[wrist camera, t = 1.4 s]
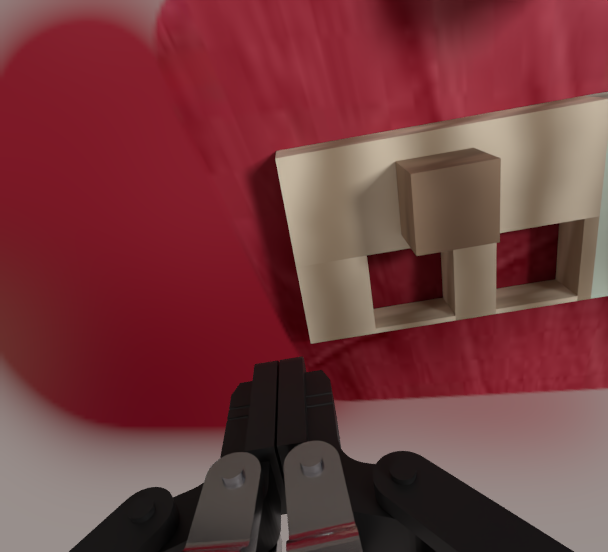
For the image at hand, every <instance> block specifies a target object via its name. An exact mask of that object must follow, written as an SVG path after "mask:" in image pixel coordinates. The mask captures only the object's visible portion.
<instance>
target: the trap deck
mask: <svg viewBox="0 0 608 552" xmlns="http://www.w3.org/2000/svg"><path fill="white" fill-rule="evenodd" d="M468 148H476V149H478V150H481V151H484V152H486V153H489V154H491V155H494V156H496V157H499V158H501V180H500V233H503V232H509V231H515V230H521V229H527V228H533V227H539V226H545V225H551V224H557V223H559V236H558V250H557V265H556V279H554V280H547V281H541V282H535V283H529V284H523V285H517V286H511V287H505V288H498V289H496V243H492V244H487V245H481V246H475V247H469V248H463V249H457V250H451V251H445V252H441V267H442V288H443V298H437V299H431V300H425V301H419V302H413V303H407V304H401V305H394V306H388V307H382V308H376V309H373V302H372V294H371V286H370V277H369V269H368V261H367V255H373V254H379V253H385V252H391V251H397V250H402V249H408V248H410V246H409V245H408V243H407V242H406V241H405V239H404V238H403V236H402V235H401V225H400V213H399V201H398V189H397V177H396V165H395V161H400V160H406V159H412V158H417V157H423V156H429V155H434V154H440V153H446V152H451V151H457V150H463V149H468ZM275 160H276V165H277V171H278V176H279V181H280V186H281V191H282V197H283V202H284V207H285V212H286V217H287V223H288V228H289V233H290V238H291V243H292V248H293V254H294V259H295V264H296V269H297V274H298V280H299V285H300V290H301V295H302V300H303V306H304V311H305V316H306V321H307V326H308V331H309V337H310V342H311V344H312V343H319V342H325V341H331V340H337V339H343V338H350V337H356V336H362V335H368V334H374V333H381V332H387V331H393V330H399V329H405V328H412V327H418V326H424V325H430V324H437V323H443V322H449V321H455V320H461V319H468V318H474V317H480V316H486V315H492V314H499V313H505V312H511V311H517V310H523V309H530V308H536V307H542V306H548V305H554V304H561V303H567V302H573V301H579V300H585V299H592V298H598V297H604V296H608V92H603V93H597V94H592V95H586V96H580V97H575V98H569V99H564V100H558V101H553V102H547V103H541V104H536V105H530V106H525V107H519V108H514V109H508V110H502V111H497V112H491V113H486V114H480V115H475V116H469V117H464V118H458V119H452V120H447V121H441V122H436V123H430V124H425V125H419V126H413V127H408V128H402V129H397V130H391V131H386V132H380V133H374V134H369V135H363V136H358V137H352V138H347V139H341V140H335V141H330V142H324V143H319V144H313V145H308V146H302V147H296V148H291V149H285V150H280V151H276V156H275Z"/></svg>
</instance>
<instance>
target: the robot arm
mask: <svg viewBox="0 0 608 552" xmlns="http://www.w3.org/2000/svg"><path fill="white" fill-rule="evenodd" d="M229 409H230V410H229V413H228V421H227V424H226V430H225V435H224V441H223V446H222V452H221V458H220V459H219V460H218V461H216V462H215V463H214V464H213V465H212V466H211V468H210V469H209V471H208V472H207V475H206V478H205V481H204V483H202V484H201V485H199V486H198V487H196V488H194V489H192V490H189V491H187V492H185V493H182V494H180V495H178V496H176V497H172V495H171V494H170V492H169V491H168V490H166V489H164V488H160V487H151V488H147V489H144V490H141V491H139V492H137V493H135V494H134V495H132V496H131V497H129V498H128V499H127V500H126V501H125V502H124V503H122V504H121V505H120V506H119V507H118V508H117V509H116V510H115V511H114V512H112V513H111V514H110V515H109V516H108V517H107V518H106V519H105V520H104V521H103V522H101V523H100V524H99V525H98V526H97V527H96V528H95V529H94V530H92V531H91V532H90V533H89V534H88V535H87V536H86V537H85V538H84V539H83V540H81V541H80V542H79V543H78V544H77V545H76V546H75V547H74V548H72V549H71V550H70V551H69V552H282V539H281V535H280V531H281V515H282V514H287V517H288V529H289V540H288V541H287V542H286V551H287V552H574V551H572V550H570V549H569V548H567V547H566V546H564V545H563V544H561V543H559V542H558V541H556V540H554V539H553V538H551V537H550V536H548V535H547V534H545V533H543V532H542V531H540V530H539V529H537V528H535V527H534V526H532V525H530V524H529V523H527V522H526V521H524V520H523V519H521V518H519V517H518V516H516V515H515V514H513V513H511V512H510V511H508V510H507V509H505V508H504V507H502V506H500V505H499V504H497V503H496V502H494V501H492V500H491V499H489V498H487V497H486V496H484V495H483V494H481V493H479V492H478V491H476V490H475V489H473V488H472V487H470V486H468V485H467V484H465V483H464V482H462V481H460V480H459V479H457V478H456V477H454V476H453V475H451V474H449V473H448V472H446V471H444V470H443V469H441V468H440V467H438V466H436V465H435V464H433V463H432V462H430V461H429V460H427V459H425V458H424V457H422V456H420V455H418V454H416V453H413V452H408V451H397V452H392V453H389V454H387V455H385V456H383V457H382V458H381V459H380V460H379V461H378V462H377V463H376V464H369V463H363V462H359V461H356V460H354V459H352V458H350V457H348V456H347V455H346V454H345V453H344V452H343V451H342V449H341V445H340V437H339V431H338V423H337V416H336V411H335V405H334V400H333V394H332V388H331V383H330V379H329V378H328V377H327V376H326V374H325V373H324V372H323V371H322V370H319V371H313V372H306V367H305V363H304V358H303V357H296V358H290V359H284V360H280V362H279V361H273V362H266V363H259V364H255V367H254V375H253V381H250V382H244V383H240V384H239V386H238V387H237V388H236V390H235V391H234V393H233V394H232V396H231V401H230V407H229Z"/></svg>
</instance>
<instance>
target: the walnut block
mask: <svg viewBox="0 0 608 552" xmlns="http://www.w3.org/2000/svg"><path fill="white" fill-rule="evenodd" d="M395 165H396V177H397V189H398V201H399V213H400V225H401V235H402V236H403V238H404V239H405V241H406V242H407V243H408V245H409V246H410V248H411V249H412V251H413V252H414V253H415V255H416V256H421V255H427V254H433V253H439V252H445V251H451V250H457V249H463V248H469V247H475V246H481V245H487V244H492V243H498V242H500V180H501V158H499V157H496V156H494V155H491V154H489V153H486V152H484V151H481V150H478V149H476V148H468V149H463V150H457V151H451V152H446V153H440V154H434V155H429V156H423V157H417V158H412V159H406V160H400V161H395Z"/></svg>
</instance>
